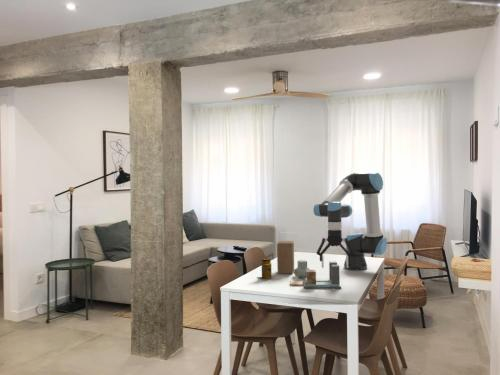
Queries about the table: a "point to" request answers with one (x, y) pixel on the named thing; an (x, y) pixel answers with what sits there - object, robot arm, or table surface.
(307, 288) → the lane rails
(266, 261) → the condiment
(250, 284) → the table surface
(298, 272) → the air freshener
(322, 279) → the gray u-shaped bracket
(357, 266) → the robot arm
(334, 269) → the grey l-shaped piece
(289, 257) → the wooden block
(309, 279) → the walnut block
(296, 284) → the cork trivet
